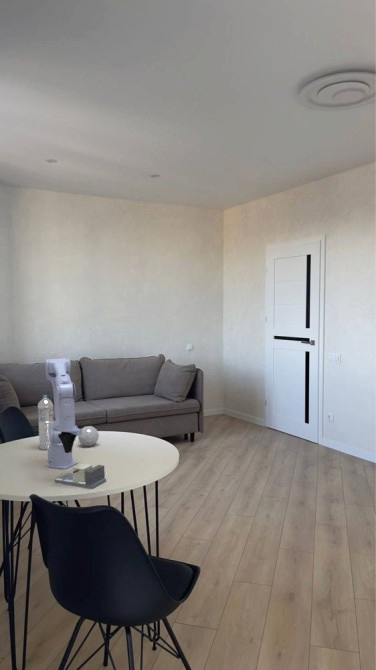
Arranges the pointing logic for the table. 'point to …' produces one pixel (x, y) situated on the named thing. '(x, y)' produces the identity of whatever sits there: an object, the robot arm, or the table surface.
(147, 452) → the table surface
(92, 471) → the grey rectangular block
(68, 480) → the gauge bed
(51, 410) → the water bottle
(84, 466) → the off-white block with tab
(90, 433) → the glossy grey ball
